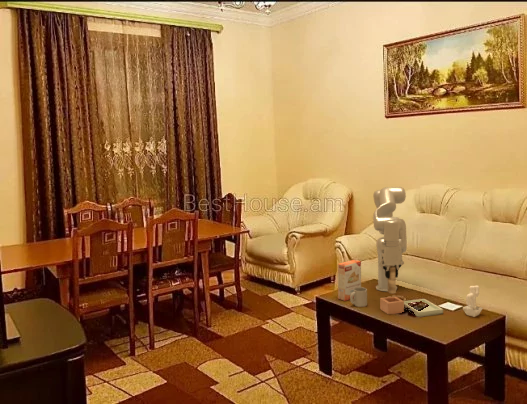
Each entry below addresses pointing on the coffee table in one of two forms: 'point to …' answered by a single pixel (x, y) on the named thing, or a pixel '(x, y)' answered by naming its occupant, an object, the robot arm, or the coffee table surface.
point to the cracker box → (348, 278)
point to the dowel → (392, 280)
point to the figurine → (472, 302)
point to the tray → (427, 311)
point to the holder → (391, 305)
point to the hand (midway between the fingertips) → (391, 277)
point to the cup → (359, 297)
